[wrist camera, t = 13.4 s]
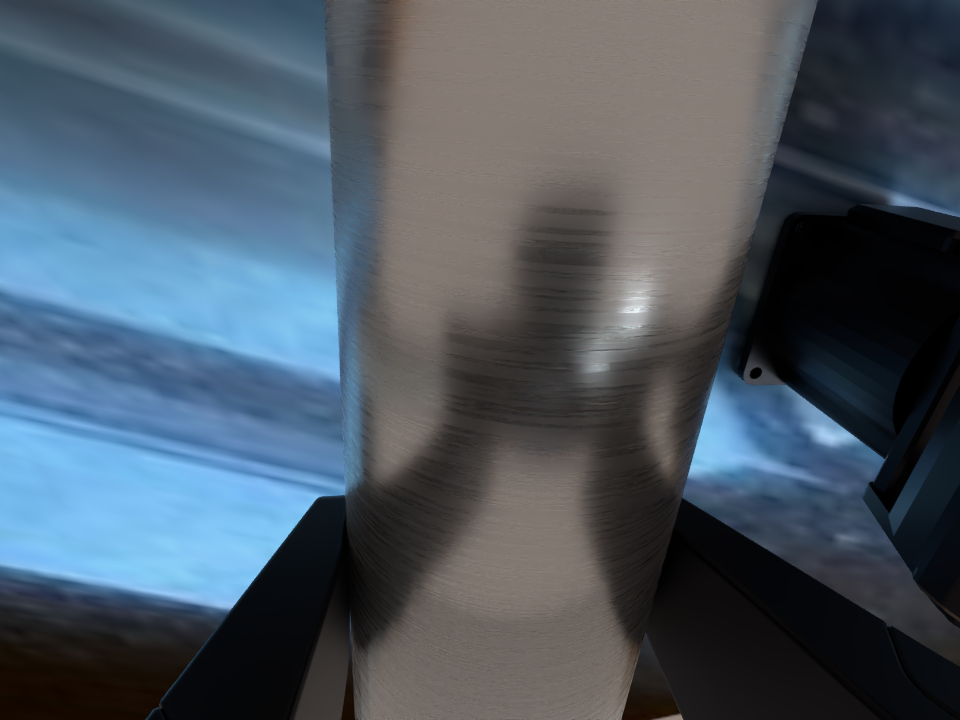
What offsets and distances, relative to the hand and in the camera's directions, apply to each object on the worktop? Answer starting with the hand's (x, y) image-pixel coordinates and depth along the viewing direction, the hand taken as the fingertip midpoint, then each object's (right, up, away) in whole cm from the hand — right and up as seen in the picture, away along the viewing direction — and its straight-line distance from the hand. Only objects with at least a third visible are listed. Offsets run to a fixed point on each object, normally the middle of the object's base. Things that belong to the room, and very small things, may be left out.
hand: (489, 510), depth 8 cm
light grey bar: (0, +3, 0) cm, 3 cm away
